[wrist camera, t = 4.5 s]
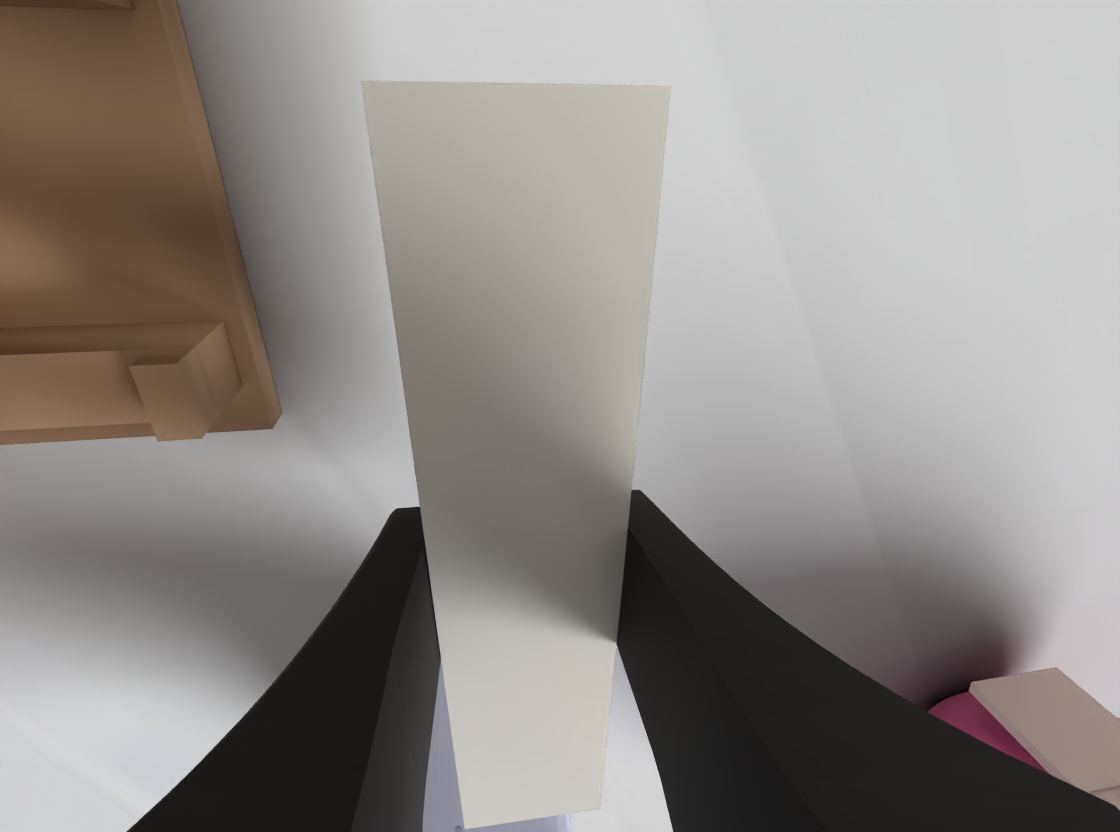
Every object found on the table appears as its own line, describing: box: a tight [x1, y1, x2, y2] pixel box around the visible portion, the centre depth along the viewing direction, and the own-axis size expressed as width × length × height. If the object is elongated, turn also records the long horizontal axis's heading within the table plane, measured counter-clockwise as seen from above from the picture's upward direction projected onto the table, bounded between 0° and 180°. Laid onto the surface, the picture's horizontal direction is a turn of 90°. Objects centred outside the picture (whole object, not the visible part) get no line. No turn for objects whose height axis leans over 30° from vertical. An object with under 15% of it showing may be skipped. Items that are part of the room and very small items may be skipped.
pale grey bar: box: [361, 81, 671, 829], centre depth 11 cm, size 14×3×4 cm, turn 178°
